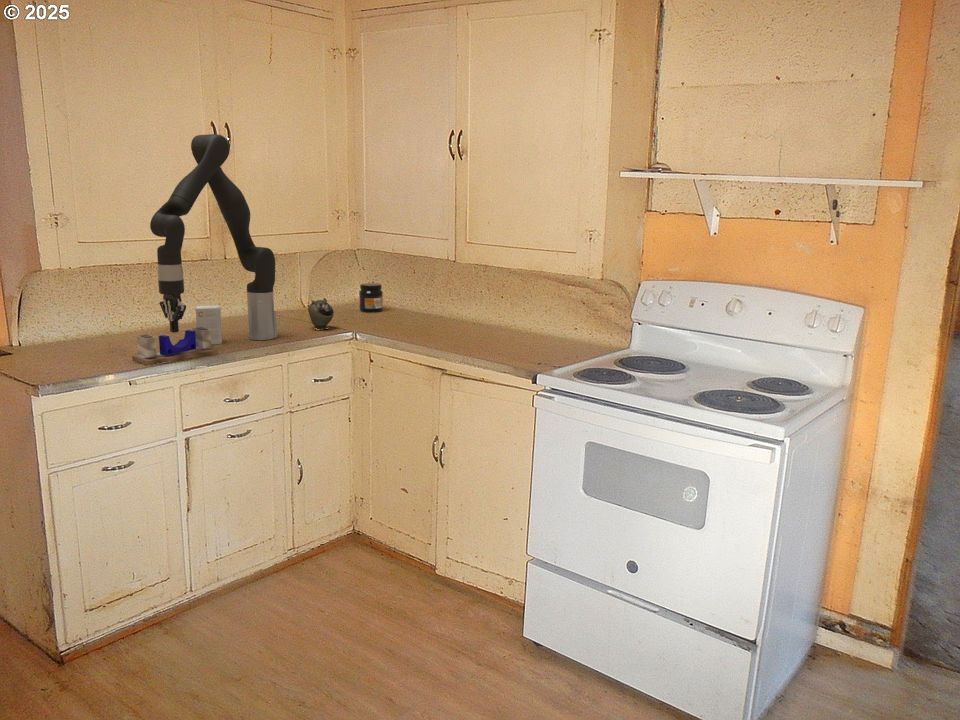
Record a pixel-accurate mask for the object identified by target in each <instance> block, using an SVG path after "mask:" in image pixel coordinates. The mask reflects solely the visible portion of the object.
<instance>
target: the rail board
mask: <svg viewBox="0 0 960 720" xmlns="http://www.w3.org/2000/svg"><path fill="white" fill-rule="evenodd" d="M192 331H195V335H196V349H193V350H189V351H184V352H180V353H175V354H171V355H161V354H160V351H157V344H156V341H157V340H156V337H155V336H153V335H149V334H139V335H136V343H137V345H136V346H137V347H136V348H137V354H135V355H132V356H131V357H132V361H133V362H136V363H138V364H142V365H144V364H145V365H144V366H147V365H150V366H154V365H153V364H156V365H158V364H157V363H162V362H168V363H170V362H169V361H174V362H177V361H176V360H180V361H185V360H184V359H186V360H190V359H189V358H192V359H197V358H196V357H198V358H202V357H201V356H204V357H209V355H210V356H214V355H215V356H216V355H219V353H218V352H219V351H218V349H215V348H213V347H212V344H211V331H210V330H209V329H207V328H203V327H197V326H196V327H194V328H193V327H192ZM162 364H163V363H162Z"/></svg>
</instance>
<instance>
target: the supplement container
mask: <svg viewBox="0 0 960 720" xmlns="http://www.w3.org/2000/svg"><path fill="white" fill-rule="evenodd" d="M382 286H383V285H382V284H381V283H375V282H367V283H361V284H359V287H360V290H359V291H358V292H359V307H358V308H359V310H360V312H364V313H378V312H379V311H380V312H382V311H383V309H384V308H383V305H384V303H383V301H384V299H383V295H384V293H383V290H382V288H383V287H382ZM380 312H379V313H380Z"/></svg>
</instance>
